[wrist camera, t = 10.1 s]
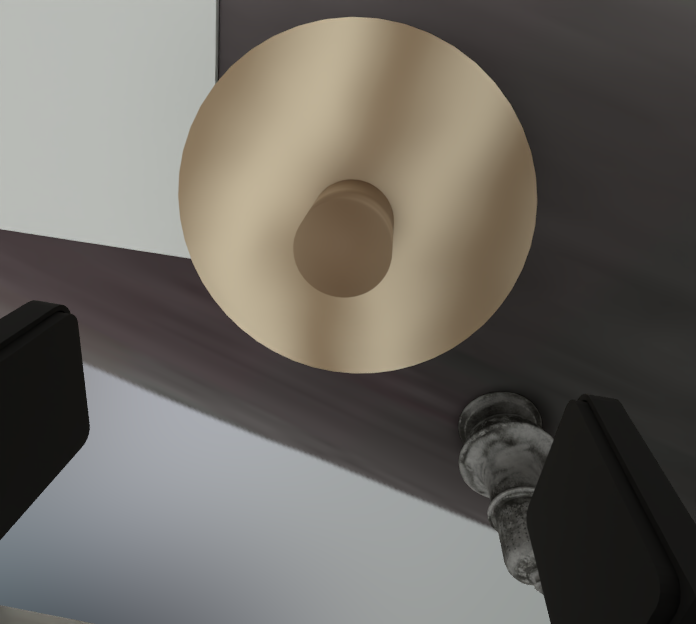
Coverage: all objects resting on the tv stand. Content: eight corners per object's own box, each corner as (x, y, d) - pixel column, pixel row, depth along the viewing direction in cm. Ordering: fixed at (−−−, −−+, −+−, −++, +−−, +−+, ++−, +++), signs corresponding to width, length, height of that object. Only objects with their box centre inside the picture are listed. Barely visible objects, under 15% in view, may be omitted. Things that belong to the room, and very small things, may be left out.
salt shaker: (437, 411, 34) (453, 573, 23) (521, 373, 32) (582, 529, 21) (479, 473, 36) (512, 650, 25) (561, 440, 34) (636, 615, 23)
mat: (220, -97, 23) (217, -100, 23) (215, 259, 31) (212, 261, 30) (-145, -145, 24) (-154, -149, 23) (-63, 216, 31) (-68, 218, 31)
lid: (581, 47, 19) (633, 41, 15) (485, 385, 26) (501, 451, 21) (181, -6, 20) (119, -27, 15) (187, 340, 26) (145, 394, 22)
